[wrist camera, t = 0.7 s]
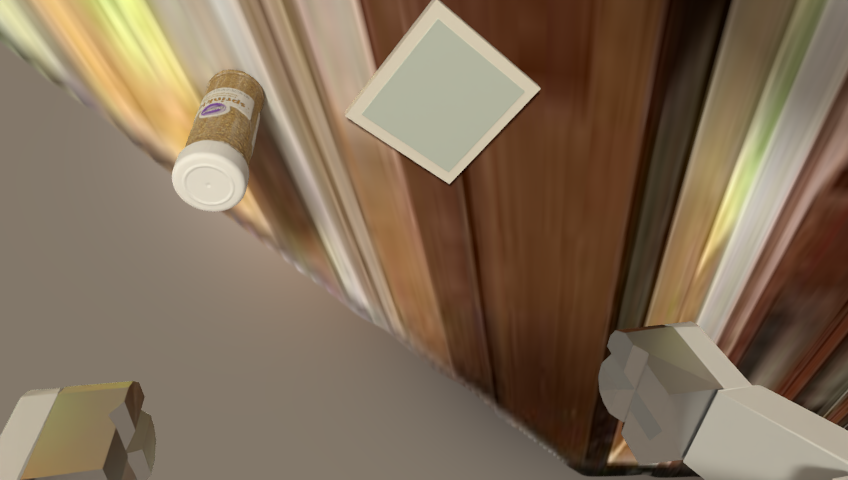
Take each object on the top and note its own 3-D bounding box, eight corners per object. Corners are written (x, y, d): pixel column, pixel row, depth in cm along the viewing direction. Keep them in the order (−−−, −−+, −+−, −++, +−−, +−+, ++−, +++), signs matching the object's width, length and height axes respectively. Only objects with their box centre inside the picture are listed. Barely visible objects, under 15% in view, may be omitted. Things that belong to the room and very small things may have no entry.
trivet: (434, -4, 43) (436, -1, 42) (538, 84, 49) (541, 89, 48) (344, 111, 48) (345, 116, 47) (447, 179, 54) (449, 184, 53)
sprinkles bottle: (243, 58, 44) (217, 143, 34) (275, 106, 47) (260, 197, 37) (194, 83, 45) (154, 173, 35) (229, 128, 48) (201, 224, 37)
